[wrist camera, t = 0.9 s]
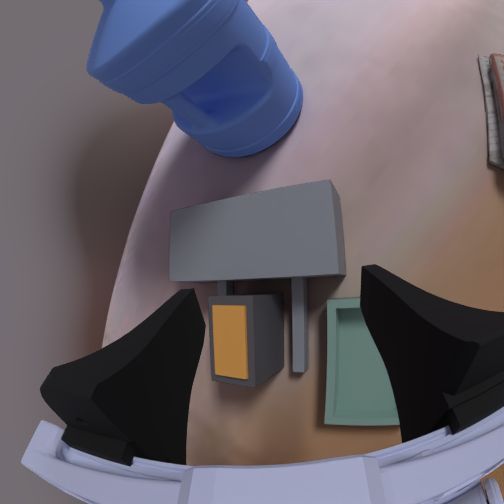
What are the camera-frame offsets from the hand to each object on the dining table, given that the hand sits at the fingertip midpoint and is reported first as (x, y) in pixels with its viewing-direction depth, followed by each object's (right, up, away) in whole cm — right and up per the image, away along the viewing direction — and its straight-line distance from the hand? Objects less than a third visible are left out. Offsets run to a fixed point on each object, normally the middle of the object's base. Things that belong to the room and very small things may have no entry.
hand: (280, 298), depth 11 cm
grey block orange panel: (0, -7, +18) cm, 19 cm away
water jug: (-1, +21, +22) cm, 30 cm away
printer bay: (0, -2, +18) cm, 18 cm away
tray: (+11, -8, +12) cm, 18 cm away
